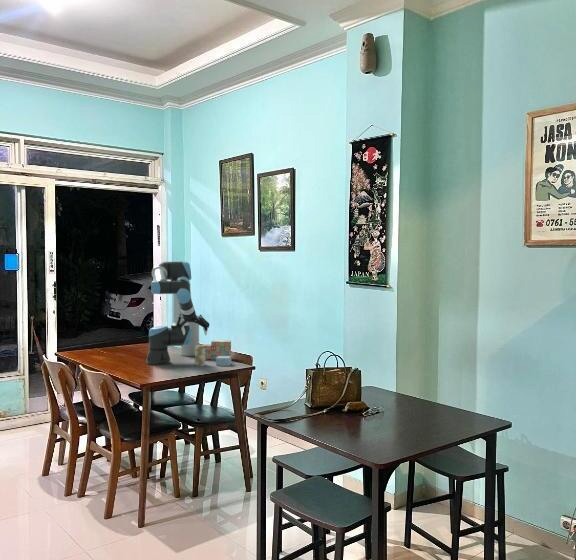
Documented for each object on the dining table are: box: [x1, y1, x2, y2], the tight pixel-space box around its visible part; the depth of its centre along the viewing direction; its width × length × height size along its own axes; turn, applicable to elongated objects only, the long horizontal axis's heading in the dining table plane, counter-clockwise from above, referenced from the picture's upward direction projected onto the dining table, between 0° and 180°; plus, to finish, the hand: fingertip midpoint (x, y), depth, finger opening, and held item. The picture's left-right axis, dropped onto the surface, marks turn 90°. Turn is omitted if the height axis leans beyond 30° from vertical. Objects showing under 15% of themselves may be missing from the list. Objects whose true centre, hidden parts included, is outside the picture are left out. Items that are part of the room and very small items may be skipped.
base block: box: [215, 355, 232, 367], centre depth 364 cm, size 8×8×5 cm
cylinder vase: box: [180, 320, 200, 357], centre depth 400 cm, size 12×12×25 cm
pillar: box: [194, 344, 206, 367], centre depth 363 cm, size 5×5×12 cm
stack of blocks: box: [199, 339, 232, 361], centre depth 385 cm, size 21×6×12 cm, turn 85°
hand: (195, 333), depth 351 cm, fingers open, 13 cm apart
